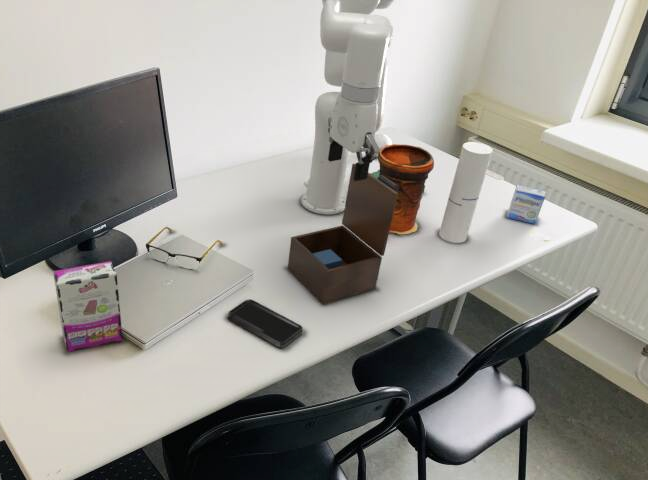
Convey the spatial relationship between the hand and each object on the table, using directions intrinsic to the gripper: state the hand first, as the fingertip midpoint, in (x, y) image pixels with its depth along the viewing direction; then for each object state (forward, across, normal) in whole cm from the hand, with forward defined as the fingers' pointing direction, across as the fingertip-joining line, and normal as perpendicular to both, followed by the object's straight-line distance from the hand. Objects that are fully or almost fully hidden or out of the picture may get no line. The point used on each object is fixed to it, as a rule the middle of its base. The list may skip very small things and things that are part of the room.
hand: (346, 169), depth 141 cm
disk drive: (+28, -31, +43) cm, 60 cm away
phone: (+26, +12, -25) cm, 38 cm away
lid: (+10, +2, +6) cm, 11 cm away
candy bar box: (+26, +2, -59) cm, 64 cm away
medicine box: (+28, -2, +66) cm, 72 cm away
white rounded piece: (+28, -50, +53) cm, 78 cm away
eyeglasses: (+27, -21, -29) cm, 45 cm away
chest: (+27, +3, -2) cm, 27 cm away
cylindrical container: (+27, -2, +40) cm, 49 cm away
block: (+26, +3, -4) cm, 26 cm away
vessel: (+28, -14, +29) cm, 42 cm away
